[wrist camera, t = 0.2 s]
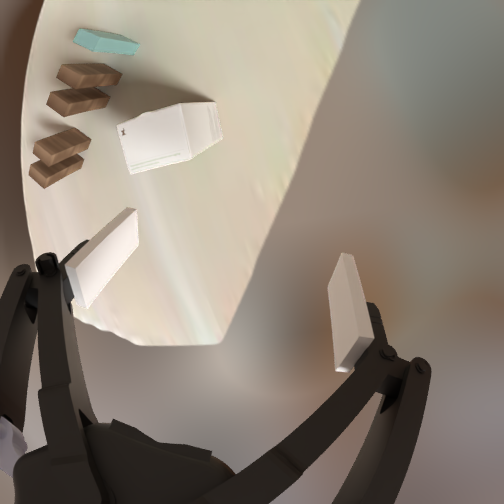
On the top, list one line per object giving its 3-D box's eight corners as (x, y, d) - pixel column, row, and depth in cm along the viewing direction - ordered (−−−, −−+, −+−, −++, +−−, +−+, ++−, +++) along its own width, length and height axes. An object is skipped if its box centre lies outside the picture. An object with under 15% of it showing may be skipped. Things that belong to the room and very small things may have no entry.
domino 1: (104, 63, 33) (61, 64, 24) (122, 74, 35) (80, 75, 25) (98, 74, 35) (56, 77, 25) (116, 84, 36) (74, 89, 27)
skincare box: (177, 148, 41) (126, 178, 28) (168, 110, 38) (111, 124, 25) (226, 138, 40) (192, 162, 27) (218, 98, 36) (178, 101, 23)
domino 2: (92, 85, 36) (50, 92, 27) (110, 96, 37) (68, 104, 28) (88, 96, 37) (46, 104, 28) (105, 107, 38) (63, 117, 29)
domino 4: (68, 147, 43) (30, 164, 33) (84, 159, 44) (46, 178, 35) (65, 156, 44) (28, 174, 35) (81, 168, 45) (44, 188, 36)
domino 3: (75, 127, 40) (35, 142, 31) (91, 139, 42) (51, 155, 32) (71, 137, 41) (32, 153, 32) (87, 149, 43) (48, 166, 33)
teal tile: (120, 34, 30) (79, 28, 21) (140, 44, 32) (100, 37, 22) (114, 45, 32) (72, 41, 22) (133, 55, 33) (92, 51, 24)
